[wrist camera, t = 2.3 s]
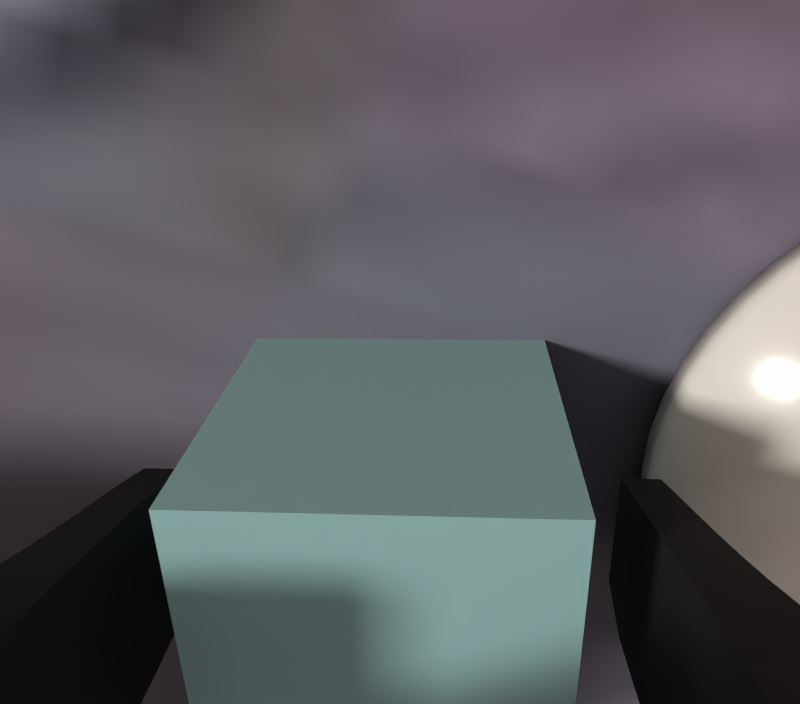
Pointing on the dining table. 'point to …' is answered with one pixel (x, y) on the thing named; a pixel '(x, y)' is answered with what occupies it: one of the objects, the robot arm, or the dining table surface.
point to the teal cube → (380, 528)
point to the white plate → (741, 425)
